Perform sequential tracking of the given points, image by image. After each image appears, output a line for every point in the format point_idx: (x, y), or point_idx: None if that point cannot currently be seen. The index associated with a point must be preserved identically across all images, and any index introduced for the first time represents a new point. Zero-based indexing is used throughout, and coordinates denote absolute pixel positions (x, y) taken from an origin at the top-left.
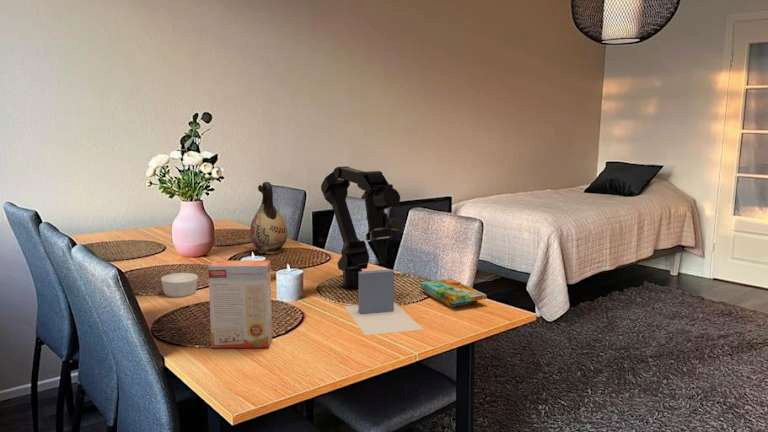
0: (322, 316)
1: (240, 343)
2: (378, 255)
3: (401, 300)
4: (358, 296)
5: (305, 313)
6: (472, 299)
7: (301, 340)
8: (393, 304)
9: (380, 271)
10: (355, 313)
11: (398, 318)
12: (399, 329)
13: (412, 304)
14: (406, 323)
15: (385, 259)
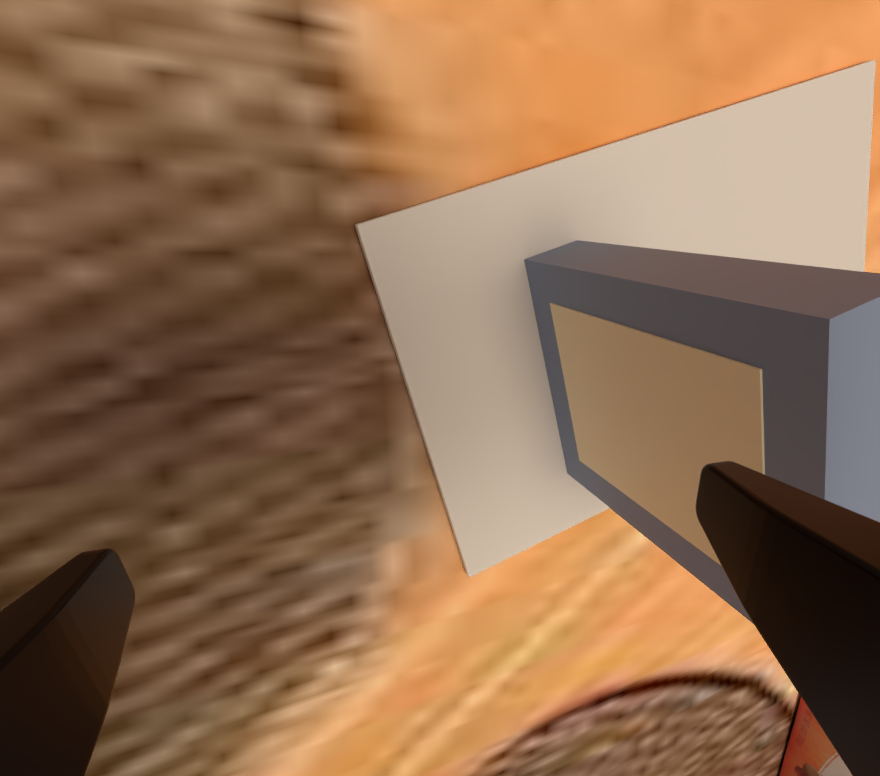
0: (596, 628)
1: None
2: (58, 728)
3: (252, 151)
4: (634, 526)
5: (550, 713)
6: None
7: None
8: (612, 246)
9: (873, 460)
10: None
11: (702, 209)
12: (845, 212)
13: (370, 47)
14: (782, 160)
15: (766, 486)
